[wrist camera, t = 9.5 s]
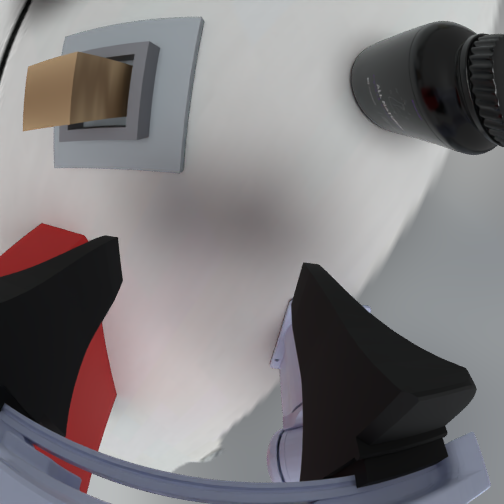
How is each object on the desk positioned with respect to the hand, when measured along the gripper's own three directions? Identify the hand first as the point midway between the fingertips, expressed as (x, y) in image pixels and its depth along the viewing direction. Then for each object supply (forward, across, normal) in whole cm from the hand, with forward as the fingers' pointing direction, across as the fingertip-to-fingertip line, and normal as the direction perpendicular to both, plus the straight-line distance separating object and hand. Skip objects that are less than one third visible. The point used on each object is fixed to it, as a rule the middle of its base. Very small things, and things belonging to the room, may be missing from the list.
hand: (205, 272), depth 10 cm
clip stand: (+10, +9, -7) cm, 15 cm away
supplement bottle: (+10, -10, -10) cm, 18 cm away
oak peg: (+9, +9, -7) cm, 14 cm away
